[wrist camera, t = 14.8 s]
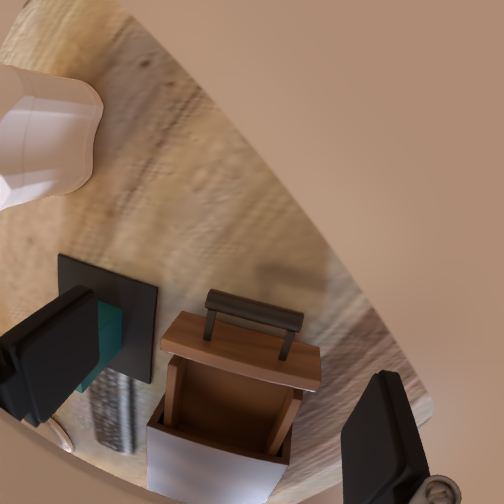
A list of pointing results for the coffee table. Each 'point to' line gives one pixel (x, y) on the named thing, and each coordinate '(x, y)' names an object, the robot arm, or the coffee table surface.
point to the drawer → (237, 374)
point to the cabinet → (209, 467)
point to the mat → (133, 312)
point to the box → (106, 340)
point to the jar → (44, 134)
